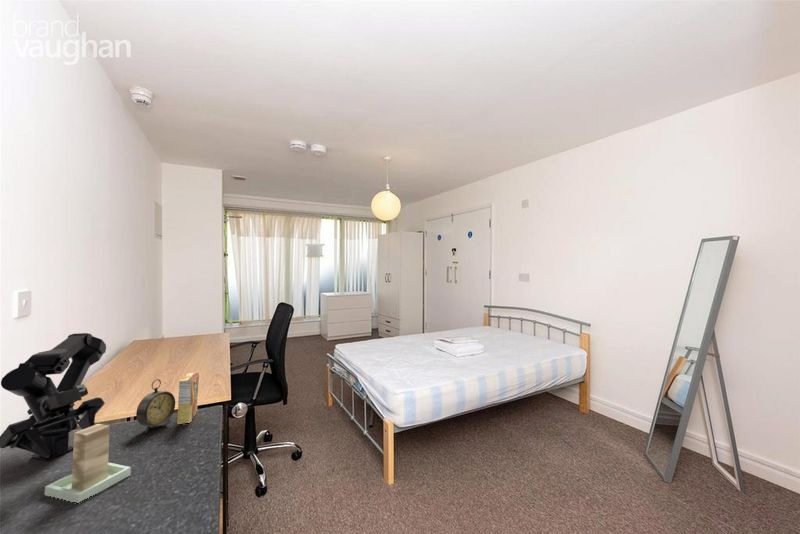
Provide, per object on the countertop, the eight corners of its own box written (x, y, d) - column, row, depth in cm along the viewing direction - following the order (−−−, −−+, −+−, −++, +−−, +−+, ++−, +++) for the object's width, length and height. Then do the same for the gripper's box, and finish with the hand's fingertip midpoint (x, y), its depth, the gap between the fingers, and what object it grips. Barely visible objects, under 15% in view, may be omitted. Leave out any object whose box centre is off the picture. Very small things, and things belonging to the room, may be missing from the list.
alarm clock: (145, 436, 102) (147, 385, 103) (131, 434, 103) (133, 384, 104) (175, 421, 113) (177, 375, 113) (163, 419, 114) (164, 374, 114)
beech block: (71, 487, 76) (74, 432, 77) (96, 475, 81) (98, 423, 82) (83, 490, 75) (86, 435, 76) (107, 478, 80) (109, 425, 81)
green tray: (44, 495, 74) (45, 486, 74) (99, 468, 85) (99, 460, 85) (78, 504, 72) (78, 495, 72) (130, 475, 82) (130, 467, 82)
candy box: (184, 415, 118) (186, 373, 118) (197, 413, 119) (199, 372, 120) (176, 425, 110) (178, 380, 110) (190, 424, 111) (192, 379, 111)
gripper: (8, 390, 73) (39, 445, 70) (101, 368, 91) (129, 411, 88) (-16, 421, 75) (13, 476, 72) (80, 393, 93) (106, 436, 90)
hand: (72, 446), depth 81 cm, fingers open, 9 cm apart
